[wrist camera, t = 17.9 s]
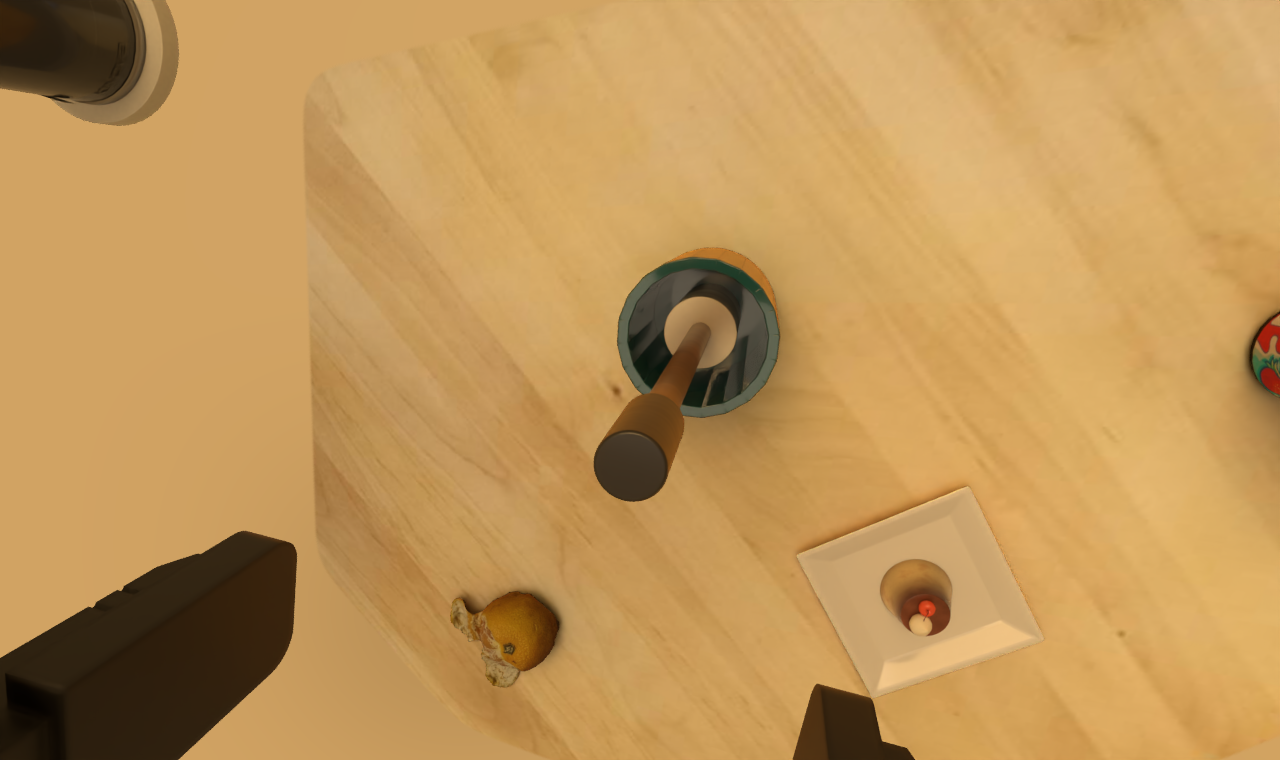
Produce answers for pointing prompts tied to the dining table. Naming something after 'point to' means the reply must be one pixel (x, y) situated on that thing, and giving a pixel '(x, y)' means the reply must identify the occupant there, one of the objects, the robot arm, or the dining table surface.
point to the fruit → (509, 634)
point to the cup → (754, 341)
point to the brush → (667, 396)
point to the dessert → (921, 594)
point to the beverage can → (1267, 355)
